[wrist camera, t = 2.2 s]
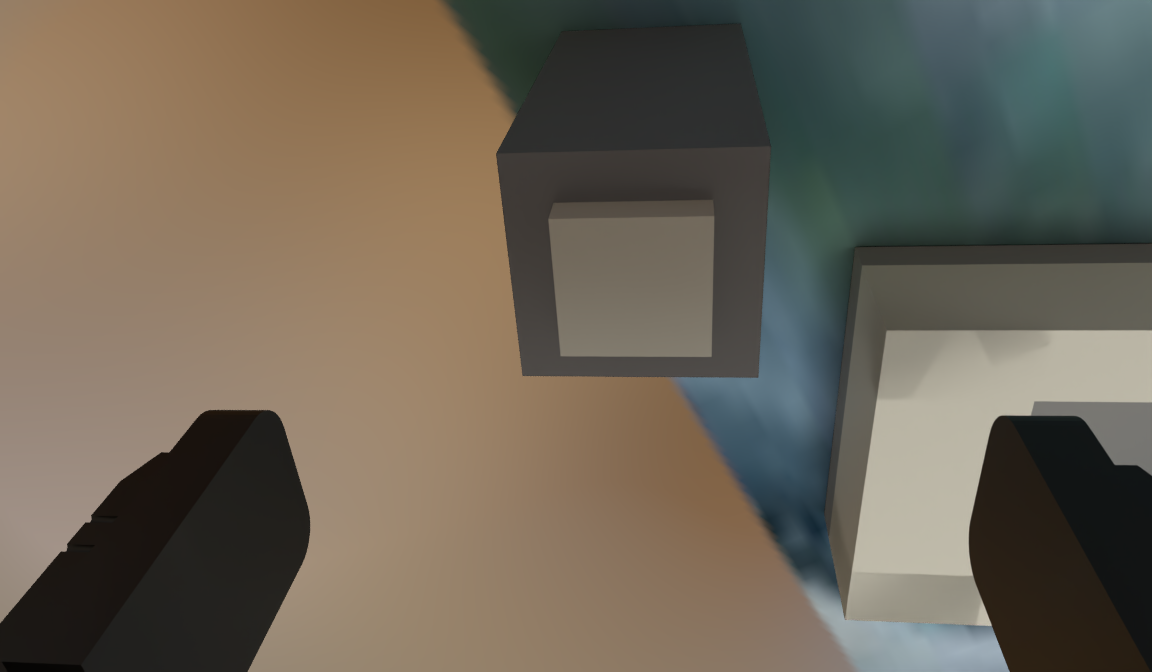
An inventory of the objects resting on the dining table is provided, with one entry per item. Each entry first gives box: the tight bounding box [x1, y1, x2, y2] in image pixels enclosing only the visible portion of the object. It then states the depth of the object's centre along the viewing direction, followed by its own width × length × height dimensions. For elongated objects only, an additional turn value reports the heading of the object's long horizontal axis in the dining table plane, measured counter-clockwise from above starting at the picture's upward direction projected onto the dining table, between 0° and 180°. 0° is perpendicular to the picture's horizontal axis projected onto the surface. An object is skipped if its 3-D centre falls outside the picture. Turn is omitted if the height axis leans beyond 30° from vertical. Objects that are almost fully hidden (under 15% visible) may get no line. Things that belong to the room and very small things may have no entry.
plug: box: [496, 23, 771, 378], centre depth 17 cm, size 4×4×9 cm
